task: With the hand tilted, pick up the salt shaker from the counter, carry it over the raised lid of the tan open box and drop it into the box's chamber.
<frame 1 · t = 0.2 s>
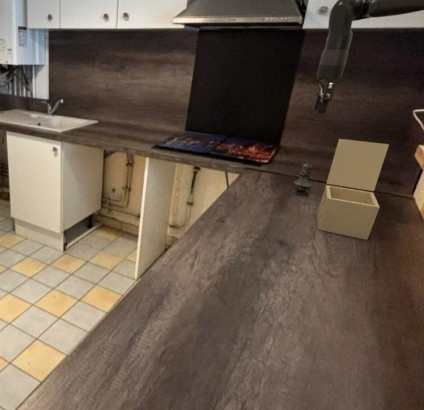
hand: (319, 111, 129), 28 cm above the table, tool pointing down, fingers open, 8 cm apart
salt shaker: (299, 193, 131), on the table
tan open box: (340, 226, 106), on the table
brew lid: (355, 164, 107), point 17 cm above the table, hinge at 100.0°
food container: (345, 191, 134), on the table
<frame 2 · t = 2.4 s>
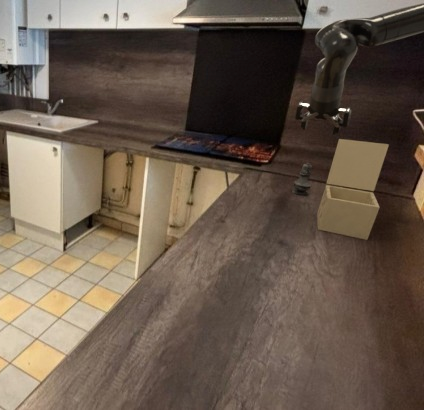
hand: (319, 130, 115), 24 cm above the table, tool tilted 40°, fingers open, 8 cm apart
nothing on the table moved.
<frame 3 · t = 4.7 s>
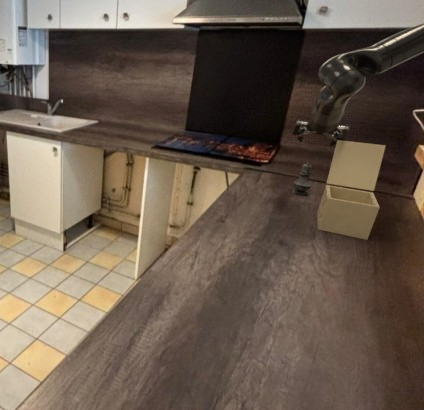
hand: (315, 141, 117), 21 cm above the table, tool tilted 50°, fingers open, 8 cm apart
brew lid: (353, 166, 109), point 16 cm above the table, hinge at 115.1°, touching hand
everything else where it was.
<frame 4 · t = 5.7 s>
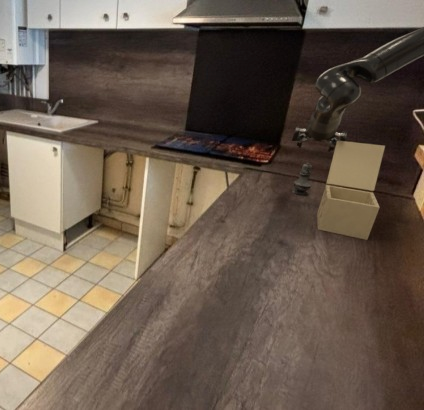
hand: (314, 147, 120), 18 cm above the table, tool tilted 50°, fingers open, 8 cm apart
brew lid: (353, 166, 109), point 16 cm above the table, hinge at 117.4°, touching hand
everything else where it was.
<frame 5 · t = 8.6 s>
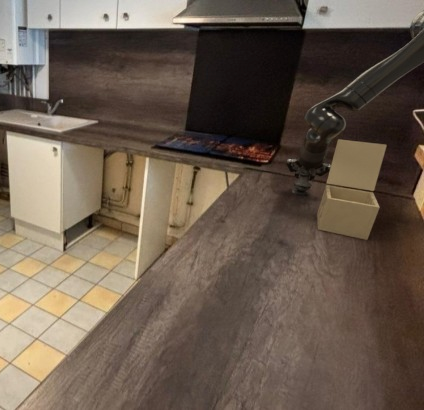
hand: (303, 177, 131), 6 cm above the table, tool tilted 45°, fingers closed on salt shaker, 3 cm apart
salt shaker: (299, 193, 131), on the table, touching gripper
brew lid: (354, 165, 108), point 16 cm above the table, hinge at 110.4°
everything else where it was.
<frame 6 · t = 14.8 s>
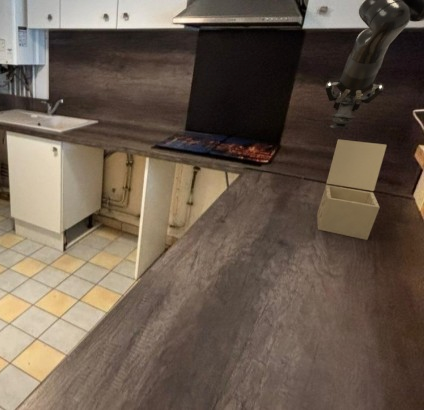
hand: (344, 108, 109), 32 cm above the table, tool tilted 45°, fingers closed on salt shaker, 3 cm apart
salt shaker: (339, 128, 110), point 26 cm above the table, touching gripper
everything else where it was.
when the fingers open (13 cm above the table, at t = 21.3 s): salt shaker drops 6 cm, resting on tan open box.
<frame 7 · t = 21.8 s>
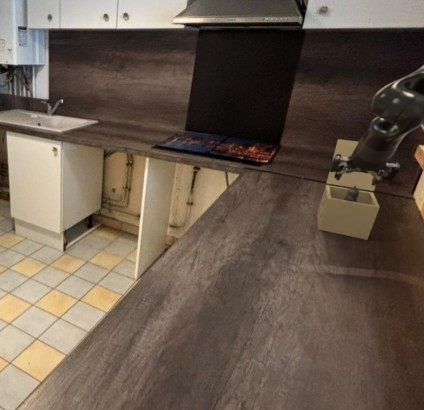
hand: (355, 180, 102), 14 cm above the table, tool tilted 45°, fingers open, 8 cm apart
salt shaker: (341, 223, 106), point 1 cm above the table, touching tan open box
everything else where it was.
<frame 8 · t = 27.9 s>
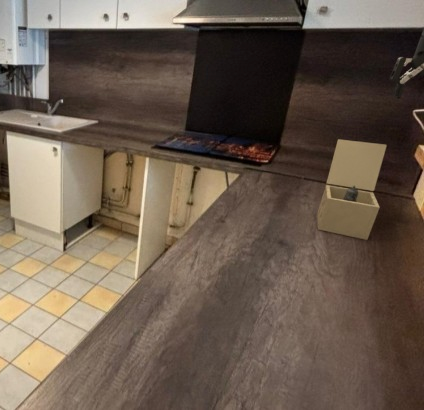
hand: (416, 99, 97), 36 cm above the table, tool pointing down, fingers open, 8 cm apart
nothing on the table moved.
at the end: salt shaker inside the target area in the tan open box (0.2 cm from its centre), point 0.7 cm above the tan open box's base; the gripper is holding nothing; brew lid at +110° (first picture: +100°) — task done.
